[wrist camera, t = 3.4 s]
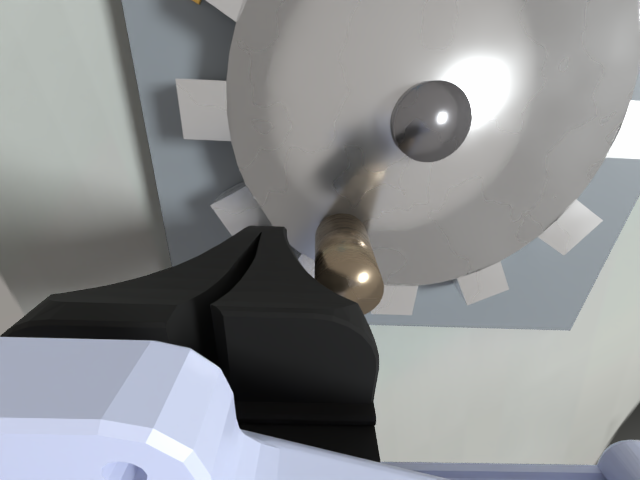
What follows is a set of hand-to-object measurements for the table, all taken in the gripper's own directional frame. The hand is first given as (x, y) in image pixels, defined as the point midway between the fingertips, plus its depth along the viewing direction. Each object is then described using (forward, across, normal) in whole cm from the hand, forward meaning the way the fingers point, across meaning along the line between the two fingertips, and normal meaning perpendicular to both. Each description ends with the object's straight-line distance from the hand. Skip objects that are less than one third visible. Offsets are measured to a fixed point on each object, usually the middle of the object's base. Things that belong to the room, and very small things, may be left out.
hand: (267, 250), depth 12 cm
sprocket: (+2, -5, -5) cm, 7 cm away
